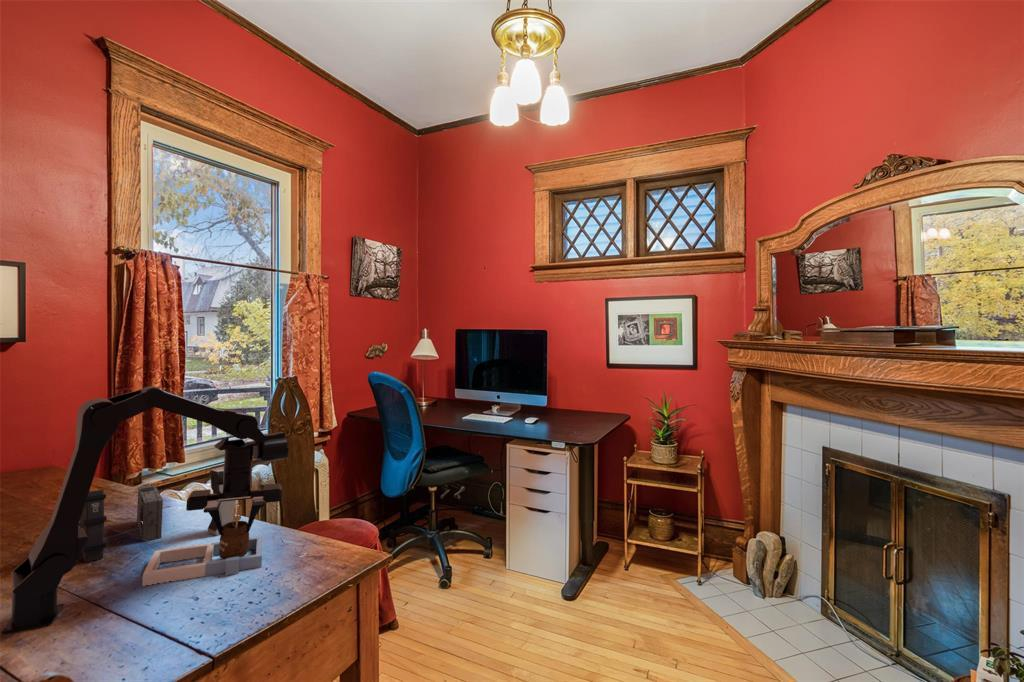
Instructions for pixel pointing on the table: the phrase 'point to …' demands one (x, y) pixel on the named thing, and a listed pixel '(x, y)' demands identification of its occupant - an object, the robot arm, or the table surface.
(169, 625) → the table surface
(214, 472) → the vintage mobile phone
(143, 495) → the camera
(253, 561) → the beige grey rectangular frame
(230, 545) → the utensil holder
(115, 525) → the table surface
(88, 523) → the dark ridged block
